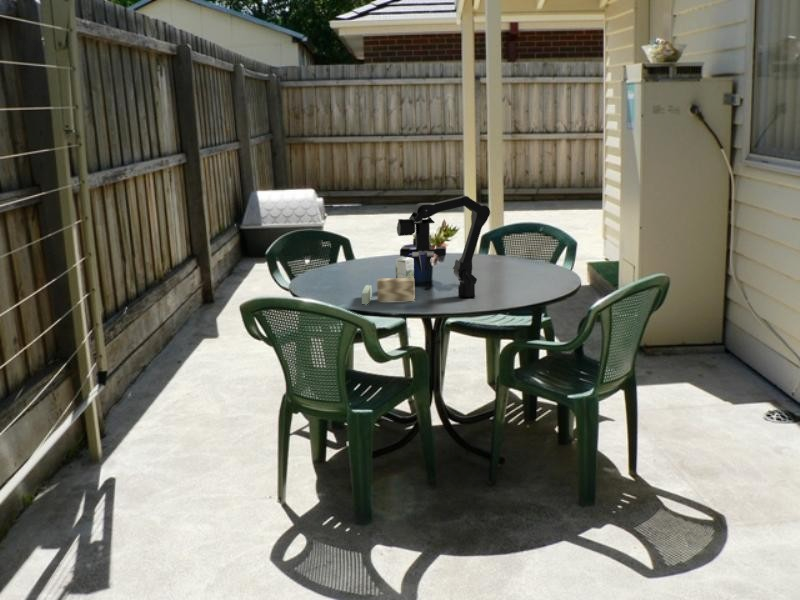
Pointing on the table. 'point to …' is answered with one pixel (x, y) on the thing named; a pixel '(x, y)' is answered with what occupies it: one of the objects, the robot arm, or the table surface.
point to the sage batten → (366, 294)
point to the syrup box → (405, 267)
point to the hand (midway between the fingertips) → (423, 271)
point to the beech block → (396, 289)
